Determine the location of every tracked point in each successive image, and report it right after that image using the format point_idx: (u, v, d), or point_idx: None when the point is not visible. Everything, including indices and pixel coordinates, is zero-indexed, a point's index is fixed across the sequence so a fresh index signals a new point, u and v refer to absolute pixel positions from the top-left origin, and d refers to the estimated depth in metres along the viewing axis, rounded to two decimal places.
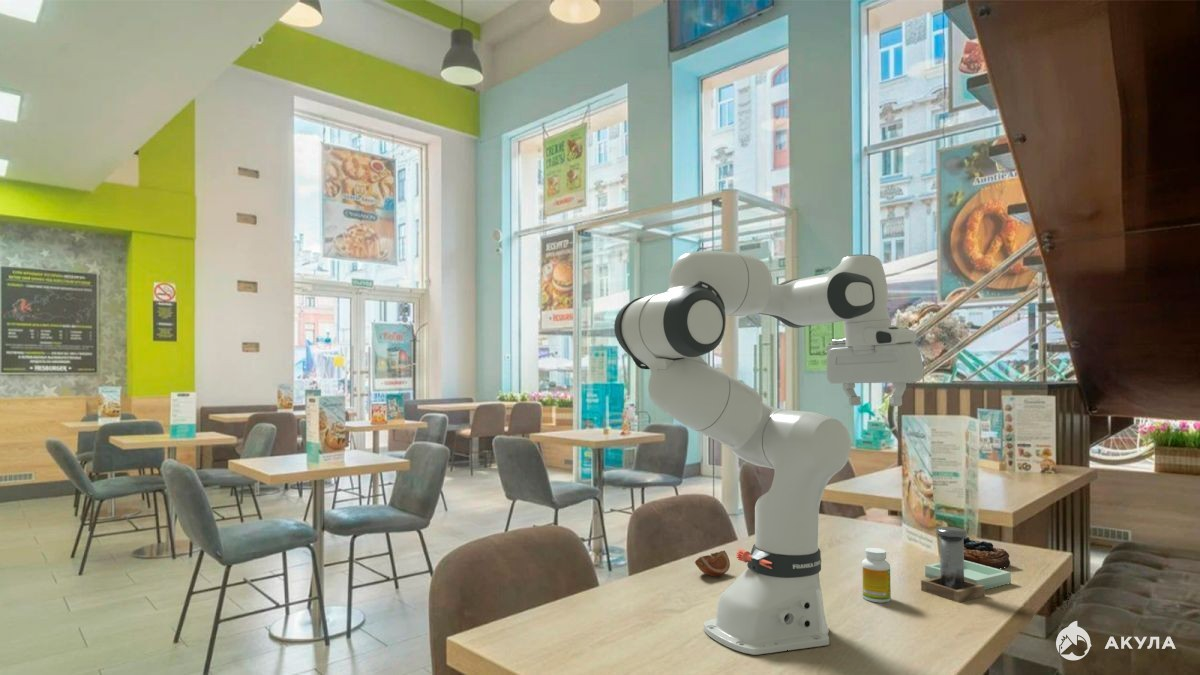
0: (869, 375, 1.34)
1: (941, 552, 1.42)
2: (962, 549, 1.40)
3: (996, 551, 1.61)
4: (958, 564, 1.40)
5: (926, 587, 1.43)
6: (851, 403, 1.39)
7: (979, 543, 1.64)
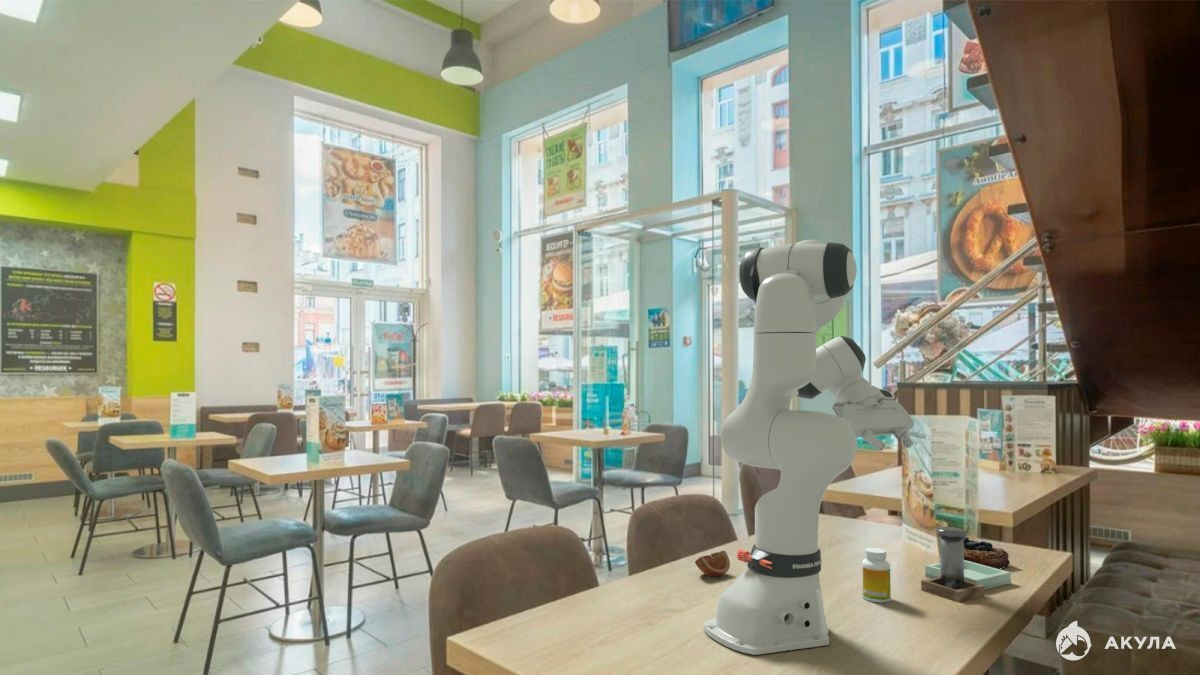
0: (886, 420, 1.58)
1: (941, 552, 1.42)
2: (962, 549, 1.40)
3: (996, 551, 1.61)
4: (958, 564, 1.40)
5: (926, 587, 1.43)
6: (882, 444, 1.52)
7: (978, 543, 1.64)
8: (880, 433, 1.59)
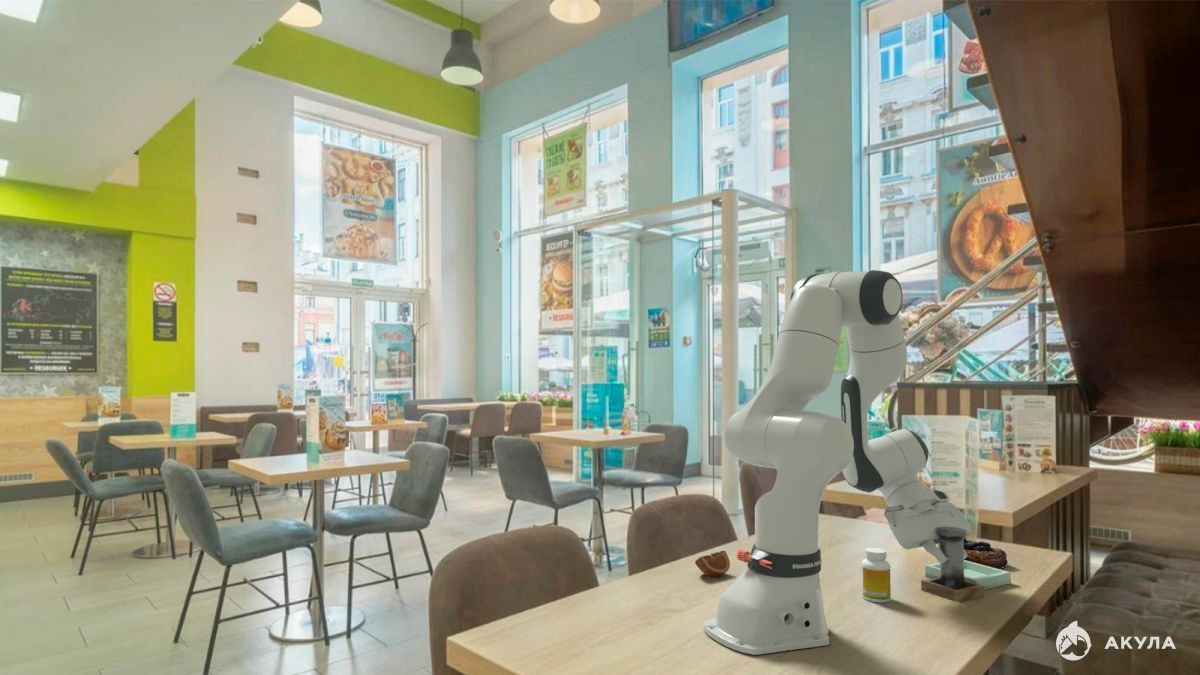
0: None
1: None
2: (962, 549, 1.40)
3: (994, 551, 1.61)
4: (958, 563, 1.40)
5: (926, 587, 1.43)
6: (946, 558, 1.40)
7: (977, 543, 1.63)
8: (936, 541, 1.46)
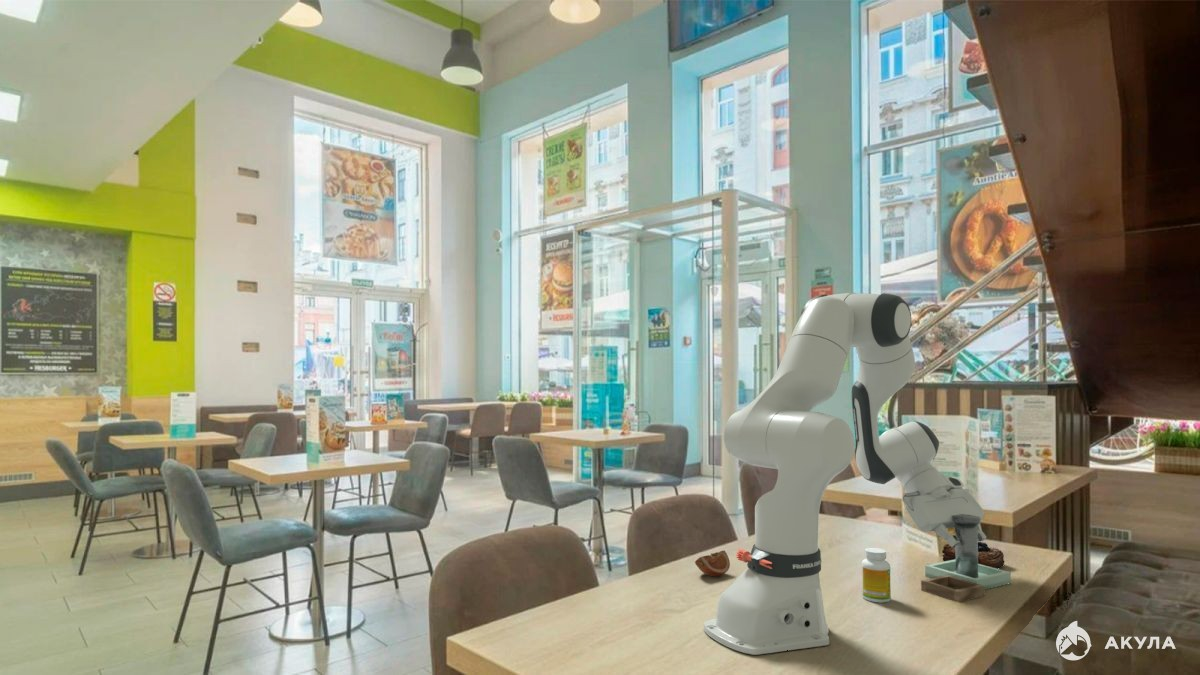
0: (957, 513, 1.54)
1: None
2: (976, 535, 1.49)
3: (992, 551, 1.60)
4: (972, 548, 1.49)
5: (926, 587, 1.43)
6: (956, 541, 1.48)
7: None
8: (951, 525, 1.54)
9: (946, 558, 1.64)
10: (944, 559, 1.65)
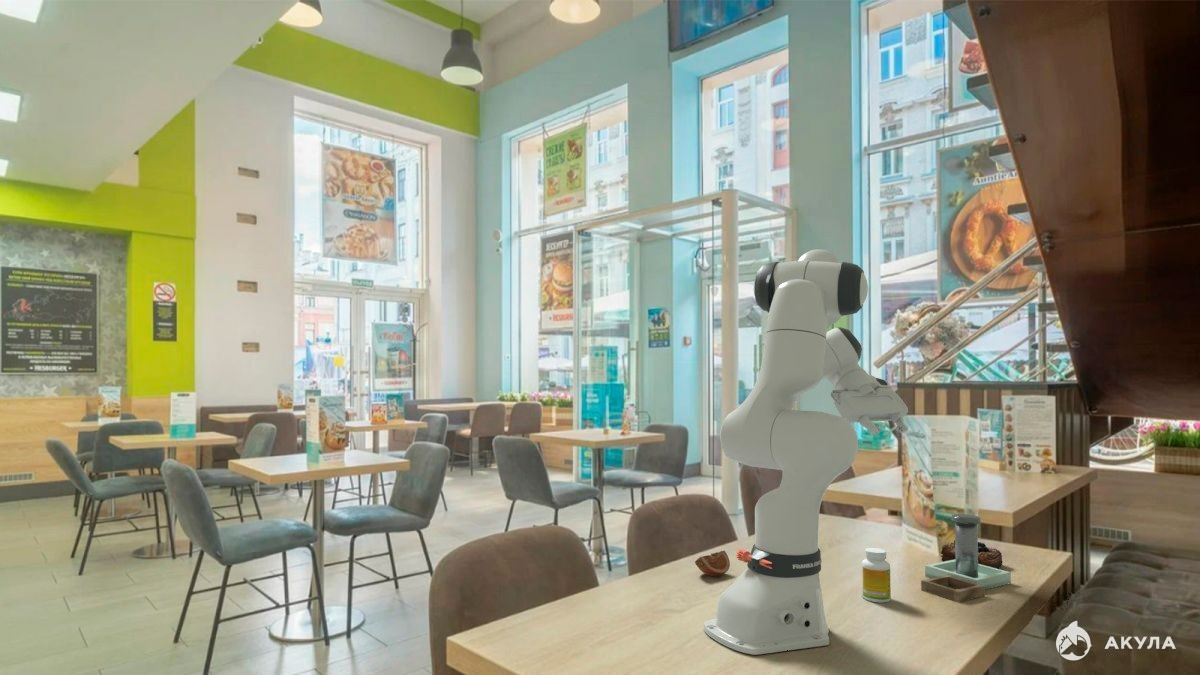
0: (881, 407, 1.66)
1: (956, 538, 1.51)
2: (976, 535, 1.49)
3: (991, 551, 1.60)
4: (972, 548, 1.49)
5: (926, 587, 1.43)
6: (878, 429, 1.60)
7: None
8: (876, 419, 1.67)
9: (945, 559, 1.64)
10: (943, 560, 1.64)
